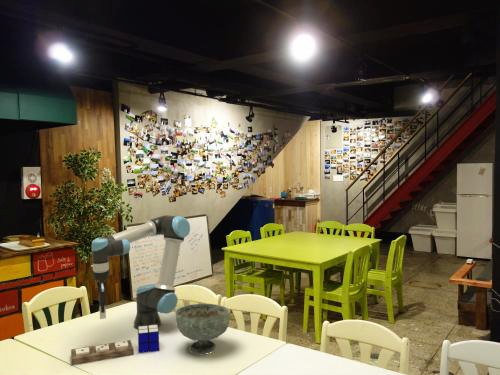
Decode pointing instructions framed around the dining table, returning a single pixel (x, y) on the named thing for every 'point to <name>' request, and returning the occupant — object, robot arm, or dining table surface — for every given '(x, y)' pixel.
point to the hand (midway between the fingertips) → (102, 318)
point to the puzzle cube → (148, 338)
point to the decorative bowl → (202, 325)
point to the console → (101, 354)
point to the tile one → (82, 351)
